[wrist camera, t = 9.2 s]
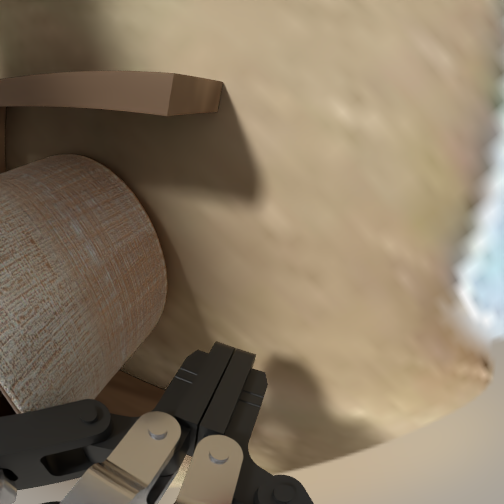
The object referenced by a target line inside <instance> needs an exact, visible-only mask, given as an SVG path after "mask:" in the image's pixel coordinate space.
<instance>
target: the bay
mask: <svg viewBox="0 0 504 504" xmlns="http://www.w3.org/2000/svg"><path fill="white" fill-rule="evenodd" d="M222 85H223V82H220V81H215V80H210V79H204V78H199V77H193V76H187V75H181V74H175V73H161V72H142V71H79V72H60V73H47V74H36V75H27V76H19V77H11V78H5V79H0V174H2V173H4V172H6V165H5V118H6V106H52V107H77V108H94V109H107V110H118V111H129V112H138V113H147V114H155V115H163V116H173V115H184V114H195V113H209V112H218V106H219V101H220V95H221V90H222ZM164 392H165V390H163V389H160V388H158V387H156V386H153V385H151V384H149V383H146V382H144V381H142V380H140V379H137V378H135V377H133V376H131V375H128V374H126V373H124V372H122V371H120V370H118V372H117V373H116V374H115V375H114V376H113V377H112V379H111V380H110V381H109V382H108V383H107V385H106V386H105V387H104V388H103V389H102V391H101V392H100V393H99V394H98V395H97V397H96V398H95V399H94V400H97V401H100V402H101V403H103V404H104V405H105V406H106V407H107V408H108V410H109V412H110V413H112V414H117V415H123V416H128V417H139V416H142V415H144V414H146V413H148V412H151V411H152V410H153V409H154V408H155V407H156V405H157V404H158V402H159V400H160V399H161V397H162V396H163V394H164Z"/></svg>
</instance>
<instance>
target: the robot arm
mask: <svg viewBox="0 0 504 504" xmlns="http://www.w3.org/2000/svg"><path fill="white" fill-rule="evenodd" d="M255 356H256V354H253V353H249V352H246V351H243V350H240V349H236V348H234V347H231V346H228V345H225V344H222V343H219V342H215V344H214V346H213V347H212V349H211V351H210V353H209V354H208V353H205V352H202V351H200V350H197V351H195V352H194V353H192V354H191V355H189V356H188V357H187V358H186V359H185V361H184V362H183V364H182V366H181V367H180V369H179V370H178V372H177V374H176V375H175V378H173V380H172V381H171V383H170V385H169V386H168V388H167V389H166V391H165V392H164V394H163V396H162V397H161V399H160V400H159V402H158V404H157V405H156V407H155V408H154V409H153V410H152V411H151V412H148V413H146V414H144V415H142V416H139V417H128V416H123V415H117V414H112V413H110V412H109V410H108V408H107V407H106V406H105V405H104V404H103V403H101V402H100V401H97V400H94V399H83V400H79V401H75V402H71V403H66V404H62V405H58V406H53V407H49V408H44V409H39V410H35V411H30V412H25V413H20V414H14V415H9V416H3V417H0V504H12V503H14V502H15V500H16V495H17V490H22V489H28V488H33V487H38V486H44V485H49V484H54V483H58V482H62V481H66V480H71V479H75V478H79V477H81V478H80V479H79V481H78V482H77V483H76V484H75V485H74V487H73V488H72V489H71V491H70V492H69V493H68V494H67V495H66V496H65V498H64V499H63V500H62V501H61V502H57V501H56V502H47V503H42V504H158V503H159V501H160V500H161V498H162V496H163V495H164V493H165V492H166V490H167V489H168V487H169V485H170V484H171V482H172V481H173V479H174V477H175V476H176V474H177V473H178V470H179V468H180V466H181V464H182V462H183V460H184V458H185V456H186V454H187V455H189V456H192V460H191V462H190V465H189V468H188V471H187V473H186V476H185V479H184V481H183V484H182V487H181V489H180V492H179V495H178V497H177V500H176V502H175V503H174V504H313V502H312V501H311V498H310V497H309V495H308V493H307V492H306V490H305V488H304V487H303V485H302V484H301V483H300V482H299V481H298V480H296V479H295V478H293V477H290V476H287V475H275V476H273V475H271V474H270V473H268V472H267V471H265V470H263V469H262V468H260V467H259V466H258V465H256V464H255V463H254V462H253V460H252V459H251V457H250V455H249V452H248V442H249V439H250V436H251V433H252V430H253V427H254V425H255V422H256V419H257V416H258V413H259V410H260V406H261V404H262V400H263V397H264V394H265V391H266V388H267V385H268V384H267V379H266V374H265V372H262V371H258V370H255V369H252V367H253V363H254V360H255Z"/></svg>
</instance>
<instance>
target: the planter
mask: <svg viewBox="0 0 504 504" xmlns="http://www.w3.org/2000/svg"><path fill="white" fill-rule="evenodd" d="M167 286H168V285H167V270H166V263H165V258H164V254H163V251H162V247H161V244H160V241H159V238H158V236H157V233H156V231H155V228H154V226H153V224H152V222H151V220H150V218H149V216H148V214H147V213H146V211H145V209H144V208H143V206H142V205H141V203H140V201H139V200H138V199H137V197H136V196H135V194H134V193H133V192H132V191H131V189H130V188H129V187H128V186H127V185H126V184H125V183H124V182H123V181H122V180H121V179H120V178H119V177H118V176H117V175H116V174H115V173H114V172H112V171H111V170H110V169H109V168H107V167H106V166H104V165H103V164H101V163H99V162H97V161H95V160H93V159H91V158H88V157H85V156H82V155H76V154H64V155H55V156H50V157H47V158H44V159H41V160H38V161H35V162H32V163H29V164H26V165H23V166H20V167H17V168H15V169H12V170H9V171H7V172H4V173H2V174H0V417H3V416H9V415H14V414H20V413H25V412H30V411H35V410H39V409H44V408H49V407H53V406H58V405H62V404H66V403H71V402H75V401H79V400H83V399H95V398H96V397H97V395H98V394H99V393H100V392H101V391H102V389H103V388H104V387H105V386H106V385H107V383H108V382H109V381H110V380H111V379H112V377H113V376H114V375H115V374H116V373H117V372H118V370H119V369H120V368H121V367H122V366H123V365H124V363H125V362H126V361H127V360H128V359H129V358H130V356H131V355H132V354H133V353H134V352H135V350H136V349H137V348H138V347H139V346H140V345H141V343H142V342H143V341H144V340H145V339H146V337H147V336H148V335H149V334H150V333H151V331H152V330H153V329H154V327H155V326H156V324H157V322H158V320H159V319H160V317H161V315H162V312H163V310H164V307H165V303H166V298H167Z"/></svg>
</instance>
